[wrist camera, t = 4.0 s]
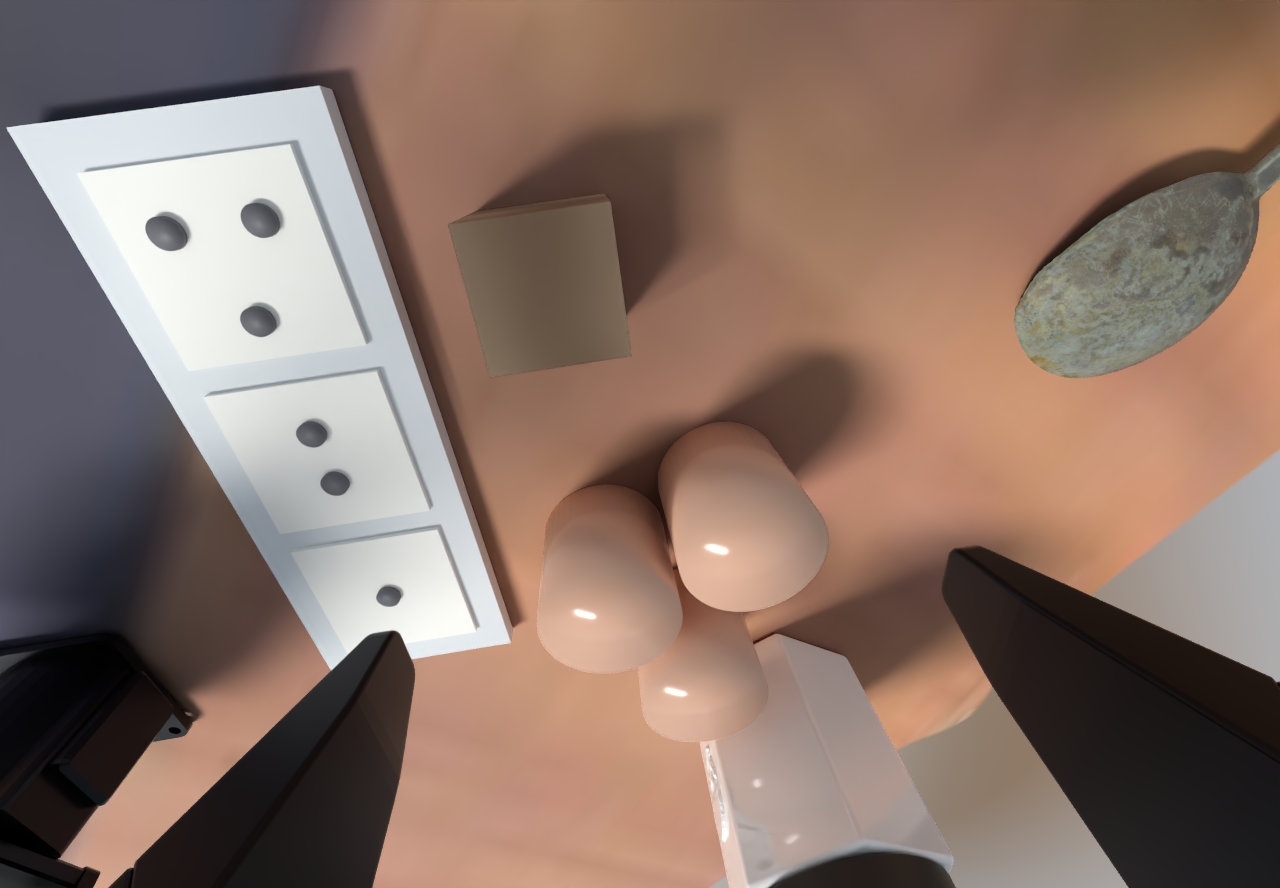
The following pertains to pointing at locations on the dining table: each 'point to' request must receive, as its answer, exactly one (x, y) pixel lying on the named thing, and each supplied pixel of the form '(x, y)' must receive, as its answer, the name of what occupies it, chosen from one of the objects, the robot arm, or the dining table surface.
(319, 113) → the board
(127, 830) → the dining table surface
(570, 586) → the peach rounded capsule
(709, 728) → the peach rounded piece
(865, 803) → the jar
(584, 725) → the dining table surface
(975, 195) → the dining table surface
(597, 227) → the brown cube
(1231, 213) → the soupspoon
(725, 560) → the peach rounded blob
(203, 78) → the dining table surface
